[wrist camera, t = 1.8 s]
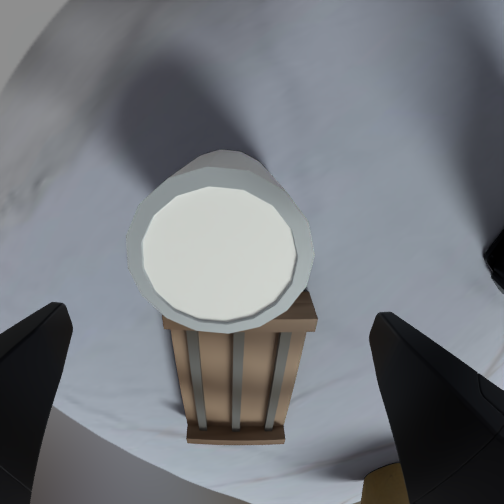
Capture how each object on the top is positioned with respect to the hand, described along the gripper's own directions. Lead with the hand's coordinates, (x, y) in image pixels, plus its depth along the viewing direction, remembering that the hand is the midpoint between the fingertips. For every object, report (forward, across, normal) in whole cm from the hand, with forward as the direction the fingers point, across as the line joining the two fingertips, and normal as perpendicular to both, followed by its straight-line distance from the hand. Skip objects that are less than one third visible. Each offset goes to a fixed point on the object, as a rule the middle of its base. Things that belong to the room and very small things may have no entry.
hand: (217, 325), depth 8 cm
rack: (+10, -1, +14) cm, 17 cm away
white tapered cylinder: (+10, 0, 0) cm, 10 cm away
